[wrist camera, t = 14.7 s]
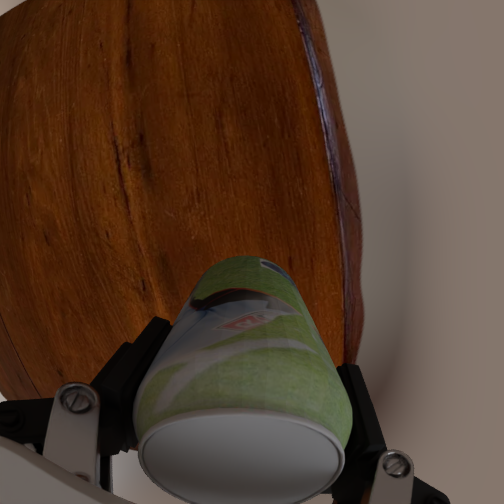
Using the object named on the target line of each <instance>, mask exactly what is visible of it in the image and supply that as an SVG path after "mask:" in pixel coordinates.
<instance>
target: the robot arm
mask: <svg viewBox="0 0 504 504" xmlns="http://www.w3.org/2000/svg"><path fill="white" fill-rule="evenodd" d="M172 327H173V326H172V325H170V321H169V320H166V319H163V318H160V317H157V316H155V317H154V318H153V319H152V320H151V321H150V323H149V324H148V325H147V326H146V328H145V329H144V330H143V331H142V332H141V334H140V335H139V336H138V337H137V339H136V340H135V341H134V343H133V344H131V343H129V342H124V343H123V344H122V345H121V347H120V348H119V349H118V350H117V351H116V353H115V354H114V355H113V356H112V357H111V359H110V360H109V361H108V362H107V363H106V365H105V366H104V367H103V368H102V370H101V371H100V372H99V373H98V375H97V376H96V377H95V378H94V379H93V381H92V382H91V383H90V384H89V385H88V384H86V383H83V382H69V383H66V384H64V385H62V386H61V387H60V388H59V389H58V390H57V392H56V395H55V398H44V399H31V400H12V401H3V402H1V403H0V504H135V503H133V502H130V501H128V500H125V499H123V498H121V497H118V496H116V495H114V494H113V479H112V455H116V454H119V452H120V450H122V451H124V452H126V453H127V452H128V450H129V448H130V446H131V447H133V448H135V447H136V445H137V444H138V439H137V437H136V434H135V429H134V425H133V420H132V414H133V402H134V399H135V396H136V393H137V391H138V388H139V386H140V384H141V382H142V380H143V378H144V376H145V375H146V373H147V371H148V369H149V367H150V365H151V364H152V362H153V360H154V358H155V356H156V355H157V353H158V351H159V350H160V348H161V346H162V344H163V343H164V341H165V339H166V338H167V336H168V334H169V333H170V331H171V329H172ZM336 370H337V373H338V375H339V377H340V379H341V381H342V383H343V386H344V388H345V390H346V392H347V394H348V397H349V401H350V404H351V407H352V429H351V433H350V437H349V440H348V443H347V445H346V447H345V449H344V454H345V463H344V466H343V469H342V472H341V473H340V475H339V476H338V478H337V479H336V481H335V482H334V483H333V484H332V485H331V486H330V487H329V488H327V489H326V490H325V491H323V492H322V493H320V494H332V498H333V499H334V500H333V503H332V504H450V501H449V499H448V497H447V496H446V495H445V494H444V493H442V492H440V491H438V490H437V489H435V488H433V487H432V486H430V485H428V484H427V483H425V482H423V481H422V480H420V479H418V478H417V477H415V476H414V465H413V462H412V460H411V458H410V457H409V456H408V455H407V454H405V453H404V452H402V451H399V450H387V447H386V444H385V441H384V438H383V435H382V431H381V428H380V425H379V422H378V419H377V416H376V413H375V410H374V407H373V404H372V402H371V399H370V396H369V393H368V390H367V388H366V385H365V382H364V379H363V377H362V373H361V371H360V368H359V366H358V365H354V364H347V363H344V364H342V366H338V367H337V368H336Z"/></svg>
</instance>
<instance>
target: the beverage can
mask: <svg viewBox="0 0 504 504" xmlns="http://www.w3.org/2000/svg"><path fill="white" fill-rule="evenodd" d="M132 420H133V425H134V429H135V434H136V437H137V439H138V442H139V446H138V458H139V462H140V465H141V467H142V469H143V471H144V472H145V474H146V475H147V476H148V477H149V478H150V479H151V480H152V482H153V483H155V484H156V485H157V486H158V487H160V488H161V489H162V490H164V491H165V492H167V493H168V494H170V495H172V496H174V497H176V498H178V499H180V500H182V501H184V502H187V503H190V504H300V503H303V502H305V501H308V500H309V499H311V498H313V497H315V496H317V495H319V494H320V493H322V492H323V491H325V490H326V489H327V488H329V487H330V486H331V485H332V484H333V483H334V482H335V481H336V479H337V478H338V476H339V475H340V473H341V472H342V469H343V466H344V463H345V454H344V449H345V447H346V445H347V443H348V440H349V437H350V433H351V429H352V407H351V404H350V401H349V397H348V394H347V392H346V390H345V388H344V386H343V383H342V381H341V379H340V377H339V375H338V373H337V370H336V368H335V366H334V364H333V362H332V360H331V358H330V356H329V353H328V351H327V349H326V347H325V345H324V343H323V341H322V339H321V337H320V335H319V332H318V330H317V328H316V326H315V324H314V322H313V320H312V318H311V316H310V314H309V312H308V310H307V308H306V306H305V304H304V302H303V300H302V297H301V295H300V293H299V291H298V289H297V287H296V285H295V284H294V282H293V280H292V279H291V277H290V276H289V275H288V274H287V273H286V272H285V271H284V270H283V269H282V268H280V267H279V266H278V265H276V264H275V263H273V262H271V261H269V260H266V259H263V258H260V257H254V256H236V257H232V258H227V259H225V260H223V261H220V262H218V263H217V264H215V265H213V266H212V267H210V268H209V269H208V270H207V271H206V272H205V273H204V274H203V275H202V277H201V278H200V280H199V281H198V282H197V284H196V286H195V288H194V289H193V291H192V293H191V294H190V296H189V298H188V300H187V301H186V303H185V305H184V307H183V308H182V310H181V312H180V314H179V315H178V317H177V319H176V321H175V322H174V324H173V327H172V329H171V331H170V333H169V334H168V336H167V338H166V339H165V341H164V343H163V344H162V346H161V348H160V350H159V351H158V353H157V355H156V356H155V358H154V360H153V362H152V364H151V365H150V367H149V369H148V371H147V373H146V375H145V376H144V378H143V380H142V382H141V384H140V386H139V388H138V391H137V393H136V396H135V399H134V402H133V414H132Z"/></svg>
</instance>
